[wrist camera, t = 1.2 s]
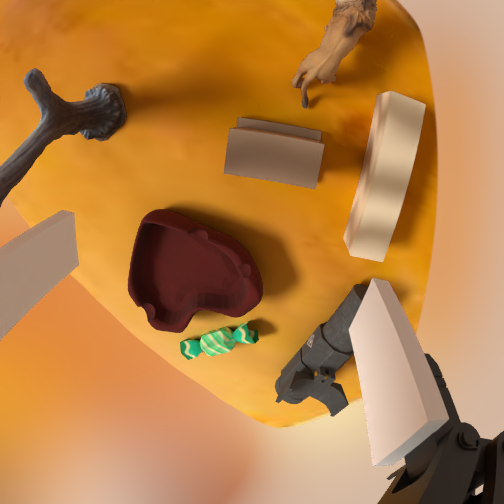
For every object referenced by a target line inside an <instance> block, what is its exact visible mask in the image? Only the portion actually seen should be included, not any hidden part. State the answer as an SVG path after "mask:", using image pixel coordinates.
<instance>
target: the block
mask: <svg viewBox="0 0 504 504" xmlns="http://www.w3.org/2000/svg"><path fill="white" fill-rule="evenodd" d="M425 107H426V104H423V103H421V102H419V101H416V100H414V99H411V98H409V97H406V96H404V95H401V94H399V93H396V92H393V91H389V92H385V93H381V94H377V98H376V103H375V109H374V114H373V119H372V124H371V129H370V134H369V139H368V144H367V148H366V153H365V157H364V161H363V166H362V170H361V174H360V178H359V182H358V186H357V190H356V194H355V198H354V201H353V205H352V209H351V212H350V216H349V219H348V223H347V226H346V230H345V233H344V237H343V239H344V241H345V244H346V246H347V248H348V250H349V253H350V255H351V256H355V257H360V258H365V259H370V260H375V261H380V262H383V260H384V257H385V255H386V252H387V249H388V246H389V244H390V241H391V238H392V235H393V232H394V229H395V226H396V223H397V220H398V217H399V214H400V211H401V207H402V204H403V201H404V197H405V194H406V191H407V187H408V183H409V180H410V176H411V172H412V168H413V164H414V160H415V156H416V152H417V147H418V143H419V138H420V133H421V128H422V123H423V118H424V112H425Z"/></svg>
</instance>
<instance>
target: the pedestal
mask: <svg viewBox="0 0 504 504" xmlns="http://www.w3.org/2000/svg"><path fill="white" fill-rule="evenodd" d="M321 135H322V132H321V131H317V130H312V129H307V128H302V127H297V126H292V125H286V124H281V123H275V122H268V121H262V120H255V119H247V118H239V117H238V122H237V127H236V128H229V136H228V143H227V151H226V159H225V167H224V174H230V175H237V176H244V177H250V178H256V179H262V180H268V181H274V182H280V183H285V184H290V185H296V186H301V187H306V188H311V189H316V185H317V180H318V175H319V170H320V166H321V161H322V156H323V150H324V145H325V144H323V143H321V142H320V141H321Z"/></svg>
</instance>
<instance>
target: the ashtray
mask: <svg viewBox="0 0 504 504" xmlns="http://www.w3.org/2000/svg"><path fill="white" fill-rule="evenodd" d="M128 292H129V295H130V296H131V298H132V299H133V301H134V302H135V304H136V305H137V306H138V307H140V306H141V307H142V308H143V309H144V310H145V311H146V313H147V318H148V322H149V323H150V324H151V326H152V327H153V328H155V329H156V330H160V331H168V332H175V333H181V332H183V331H184V330H185V328H186V327H187V326H188V324H189V322H190V321H191V319H192V317H193V316H194V314H195V313H197V312H198V311H201V310H209V311H214V312H217V313H221V314H224V315H227V316H230V317H235V318H236V317H241V316H243V315H245V314H246V313H248V312H249V311H251V310H252V309H253V308H254V307H256V306H257V305H258V304H259V302H260V301H261V298H262V294H263V285H262V279H261V276H260V273H259V271H258V269H257V267H256V265H255V263H254V261H253V259H252V257H251V255H250V253H249V252H248V251H247V250H246V248H245V247H244V246H242V245H241V244H240V243H239V242H238V241H237V240H235V239H234V238H232V237H231V236H228V235H226V234H224V233H221V232H218V231H216V230H213V229H211V228H209V227H207V226H205V225H203V224H200V223H198V222H196V221H194V220H191V219H189V218H187V217H185V216H183V215H180V214H178V213H176V212H172V211H169V210H164V209H158V210H154V211H151V212H150V213H148V214H147V215H146V216H145V217H144V218H143V220H142V221H141V224H140V226H139V229H138V232H137V236H136V239H135V243H134V247H133V252H132V257H131V263H130V270H129V278H128Z"/></svg>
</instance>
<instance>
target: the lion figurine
mask: <svg viewBox="0 0 504 504" xmlns="http://www.w3.org/2000/svg"><path fill="white" fill-rule="evenodd" d="M376 1H377V0H336V7H335V9H334V11H333V17H332V18H331V20H330V22H329V24H328V25H327V26H325V27H324V28H325V32H326V33H325V35H324V37H323V40H322V42H321V44H320V48H318V49H317V50H315V51H313V52H311V53H309V55H307V57H306V58H305V59H304V60H303V61H302V62H301V64H300V66H299V69H298V71H297V74H296V75H295V77H294V78H293V79H292V81H291V85H292V86H293V87H294V88H299V87H300V86H301V84H302V86H301V92H302V96H303V100H302V106H303V108H305V109H306V108H307V106H308V101H309V100H308V97H307V87H308V85H309V84H310V82H311V81H312V80H313V79H315V78H317V79H318V80H321V83H322V84H325V83H332V82H334V81H335V80H336V75H335V74H336V72H337V70H338V66H339V64H340V62H341V60H342V59H343V58H344V57H345V56H346V55H347V54H348V53H349V52H350V51H351V50H352V49H353V48H354V47H355V46H356V44H357V43H358V41H359V39H360V37H362V36H363V35H364V34H365V32H368V31H369V30H371V29H372V26H373V24H374V20H375V13H376V11H377V7H376ZM306 73H307V75H306V77H305V79H304V81H303V83H302V77H303V76H304V75H305V74H306Z"/></svg>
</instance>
